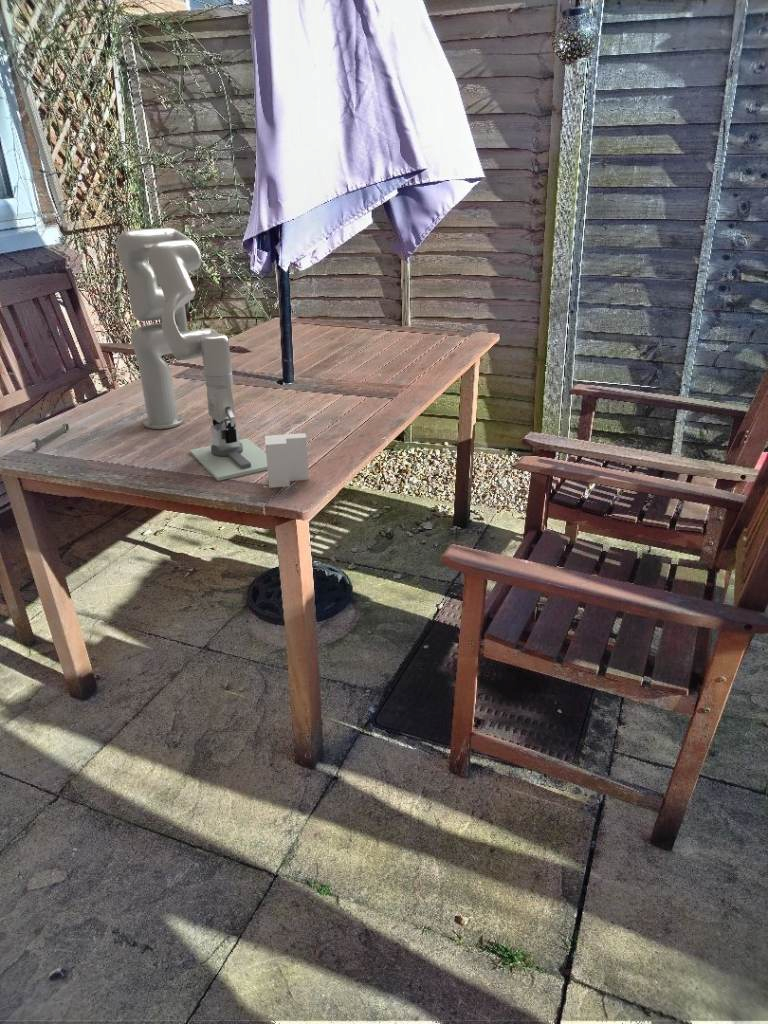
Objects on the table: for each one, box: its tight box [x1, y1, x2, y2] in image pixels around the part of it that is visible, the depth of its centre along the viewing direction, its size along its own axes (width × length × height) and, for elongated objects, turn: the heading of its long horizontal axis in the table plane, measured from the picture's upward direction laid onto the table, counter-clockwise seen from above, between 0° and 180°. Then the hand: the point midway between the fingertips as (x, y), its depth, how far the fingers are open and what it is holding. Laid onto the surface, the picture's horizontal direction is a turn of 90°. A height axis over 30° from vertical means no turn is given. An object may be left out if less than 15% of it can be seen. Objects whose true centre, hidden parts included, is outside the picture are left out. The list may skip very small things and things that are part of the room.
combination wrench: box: [31, 423, 70, 452], centre depth 217 cm, size 4×1×20 cm
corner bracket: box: [264, 432, 310, 488], centre depth 188 cm, size 11×11×12 cm
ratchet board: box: [189, 438, 268, 482], centre depth 201 cm, size 24×18×6 cm
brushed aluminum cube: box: [210, 422, 240, 451], centre depth 203 cm, size 6×6×6 cm
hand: (225, 437), depth 204 cm, fingers open, 9 cm apart
